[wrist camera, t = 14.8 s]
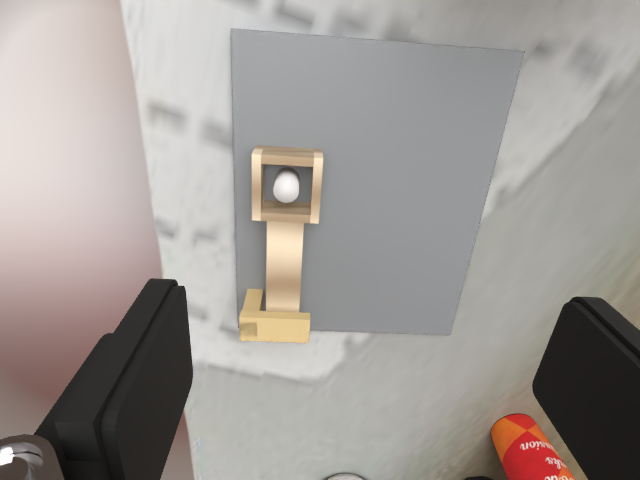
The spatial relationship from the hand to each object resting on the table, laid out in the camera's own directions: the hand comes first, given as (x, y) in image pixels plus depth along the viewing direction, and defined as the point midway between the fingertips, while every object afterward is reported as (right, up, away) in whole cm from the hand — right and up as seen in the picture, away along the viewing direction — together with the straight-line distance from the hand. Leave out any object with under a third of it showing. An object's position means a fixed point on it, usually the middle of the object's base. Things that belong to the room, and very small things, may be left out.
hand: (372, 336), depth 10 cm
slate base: (+2, +6, +27) cm, 27 cm away
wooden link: (-4, +3, +27) cm, 27 cm away
